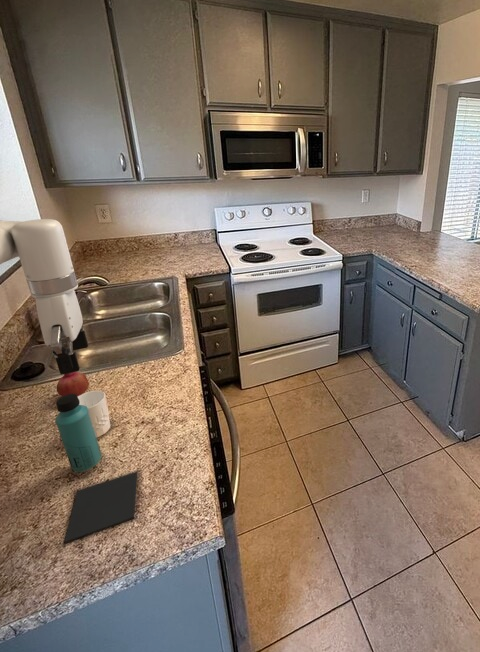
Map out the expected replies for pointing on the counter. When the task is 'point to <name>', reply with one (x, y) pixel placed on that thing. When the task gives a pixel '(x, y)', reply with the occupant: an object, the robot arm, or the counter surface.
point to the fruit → (72, 384)
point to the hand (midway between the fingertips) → (75, 359)
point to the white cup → (97, 410)
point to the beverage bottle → (77, 433)
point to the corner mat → (102, 506)
